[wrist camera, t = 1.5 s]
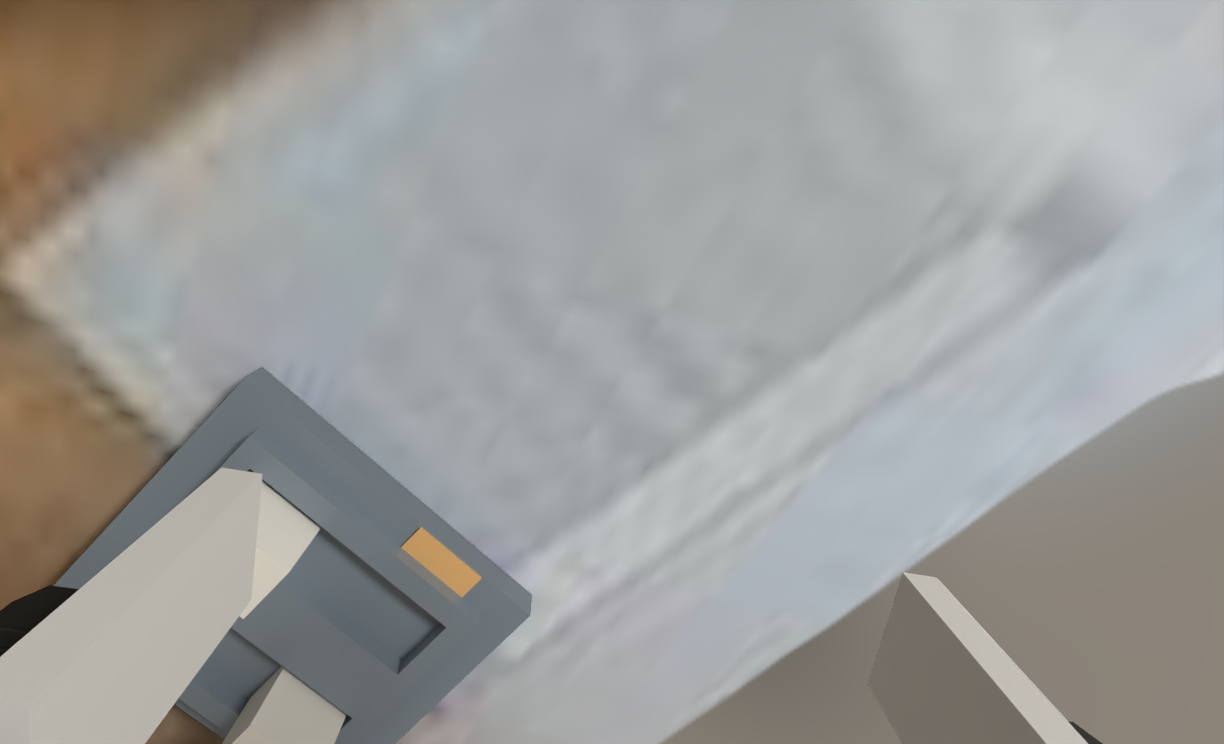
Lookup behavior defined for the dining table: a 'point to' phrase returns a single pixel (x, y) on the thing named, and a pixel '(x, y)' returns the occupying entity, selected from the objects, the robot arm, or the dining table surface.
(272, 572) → the tab
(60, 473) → the dining table surface
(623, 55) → the dining table surface
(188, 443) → the switch board
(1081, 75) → the dining table surface
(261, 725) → the tab
